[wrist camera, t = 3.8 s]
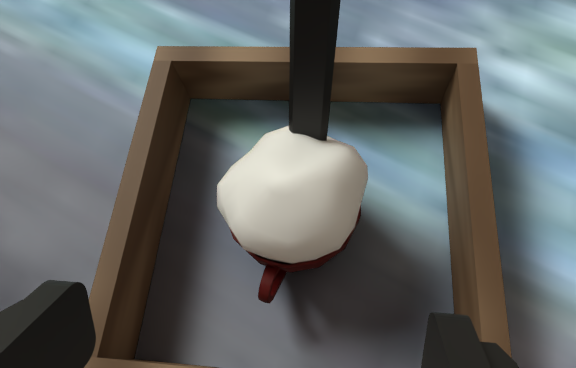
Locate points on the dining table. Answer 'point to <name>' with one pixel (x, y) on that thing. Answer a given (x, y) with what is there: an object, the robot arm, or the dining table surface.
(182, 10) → the dining table surface
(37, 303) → the robot arm
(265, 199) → the cocoa
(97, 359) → the bin
